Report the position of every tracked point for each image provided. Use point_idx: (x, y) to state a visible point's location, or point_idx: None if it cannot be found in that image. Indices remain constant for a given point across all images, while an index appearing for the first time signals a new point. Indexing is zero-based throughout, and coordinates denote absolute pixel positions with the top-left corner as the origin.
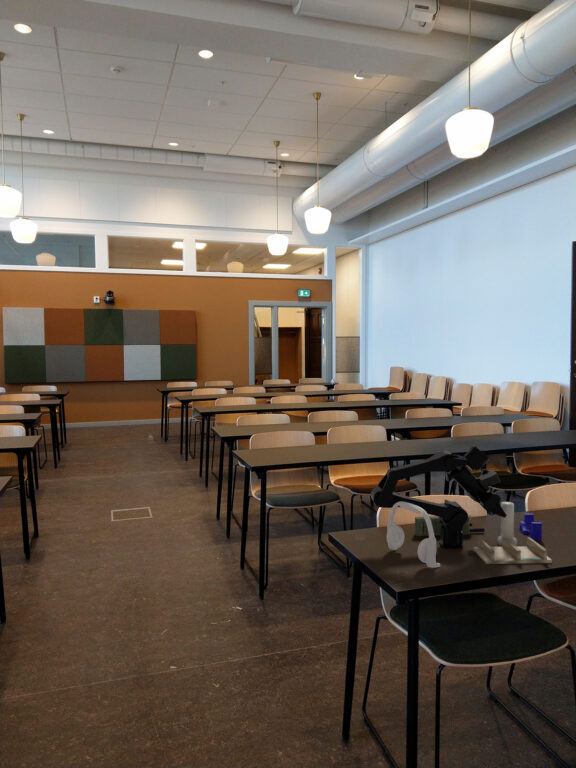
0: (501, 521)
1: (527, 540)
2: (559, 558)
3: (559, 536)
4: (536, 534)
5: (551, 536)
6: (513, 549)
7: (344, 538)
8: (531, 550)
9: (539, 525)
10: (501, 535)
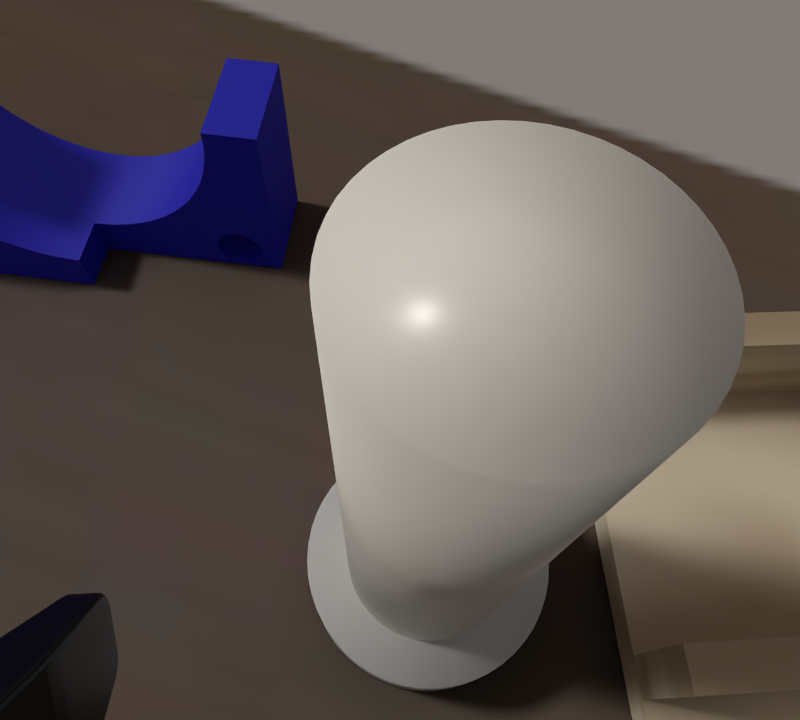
0: (462, 602)
1: None
2: (764, 235)
3: (211, 54)
4: (282, 199)
5: (202, 101)
6: None
7: None
8: None
9: (275, 100)
10: (439, 634)
